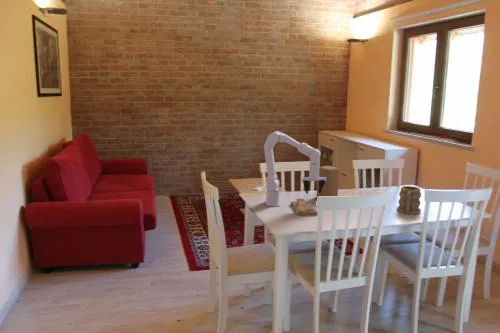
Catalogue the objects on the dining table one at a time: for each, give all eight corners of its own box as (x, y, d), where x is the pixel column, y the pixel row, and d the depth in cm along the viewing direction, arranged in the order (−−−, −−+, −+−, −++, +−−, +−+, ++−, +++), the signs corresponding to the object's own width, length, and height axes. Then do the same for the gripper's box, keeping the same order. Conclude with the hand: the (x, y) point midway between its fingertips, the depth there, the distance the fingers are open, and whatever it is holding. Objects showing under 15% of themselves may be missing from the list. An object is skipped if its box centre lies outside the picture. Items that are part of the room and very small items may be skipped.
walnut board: (290, 204, 270) (290, 201, 269) (306, 204, 271) (306, 201, 271) (299, 215, 249) (300, 212, 248) (317, 215, 250) (317, 211, 250)
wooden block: (315, 197, 287) (317, 166, 283) (326, 195, 293) (328, 165, 289) (327, 200, 280) (328, 169, 276) (338, 198, 285) (340, 167, 281)
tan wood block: (294, 211, 255) (295, 198, 253) (303, 211, 255) (303, 198, 254) (296, 214, 250) (297, 201, 248) (305, 214, 250) (305, 201, 249)
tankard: (399, 206, 270) (401, 182, 267) (421, 210, 264) (423, 185, 261) (393, 215, 252) (395, 190, 249) (416, 219, 246) (419, 193, 243)
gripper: (304, 171, 253) (302, 195, 256) (328, 171, 255) (327, 194, 258) (300, 169, 260) (299, 191, 263) (324, 169, 262) (323, 191, 265)
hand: (313, 193), depth 261 cm, fingers open, 7 cm apart
